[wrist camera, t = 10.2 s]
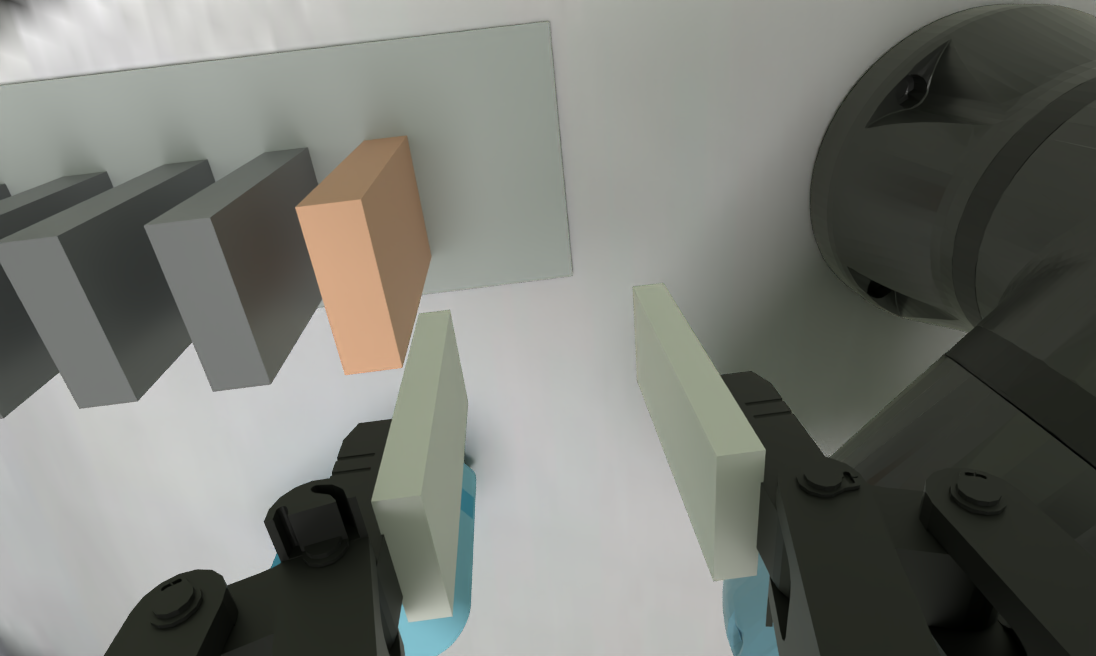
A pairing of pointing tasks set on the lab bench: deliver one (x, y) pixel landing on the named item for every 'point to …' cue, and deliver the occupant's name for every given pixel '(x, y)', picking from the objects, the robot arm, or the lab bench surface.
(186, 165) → the domino
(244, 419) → the lab bench surface
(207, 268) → the domino
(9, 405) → the domino
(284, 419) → the lab bench surface
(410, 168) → the domino
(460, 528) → the data package
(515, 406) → the lab bench surface
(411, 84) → the mat
